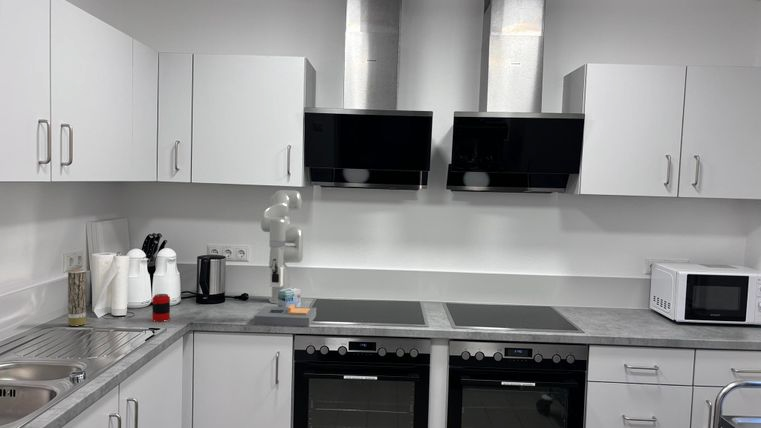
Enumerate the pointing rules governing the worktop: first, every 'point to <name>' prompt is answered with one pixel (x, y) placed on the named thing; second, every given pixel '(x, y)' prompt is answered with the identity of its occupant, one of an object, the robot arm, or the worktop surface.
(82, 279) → the brown bark patterned cylinder
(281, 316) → the socket plate
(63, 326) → the worktop surface
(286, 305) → the light bulb box
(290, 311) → the orange flat block
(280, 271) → the plug
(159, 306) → the soda can
